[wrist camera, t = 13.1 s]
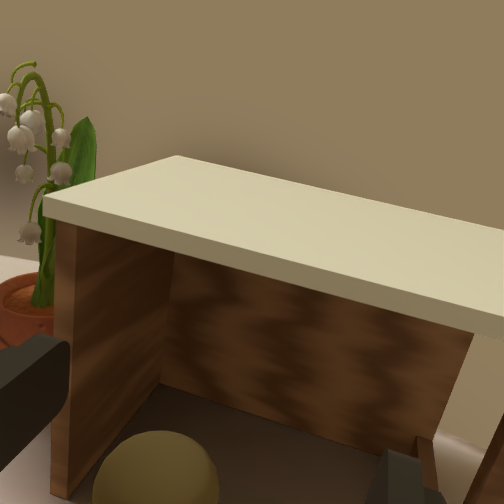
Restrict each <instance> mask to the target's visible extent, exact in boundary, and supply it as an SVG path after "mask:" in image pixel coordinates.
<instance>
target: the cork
mask: <svg viewBox="0 0 504 504" xmlns="http://www.w3.org/2000/svg"><path fill="white" fill-rule="evenodd" d="M219 496H220V487H219V481H218V475H217V470H216V467H215V465H214V463H213V462H212V460H211V458H210V457H209V455H208V454H207V452H206V450H205V449H204V448H203V447H202V446H201V445H199V444H198V443H197V442H196V441H195V440H193V439H191V438H189V437H187V436H185V435H183V434H181V433H176V432H171V431H166V430H164V431H148V432H144V433H140V434H136V435H134V436H132V437H130V438H128V439H127V440H125V441H123V442H121V443H120V444H119V445H118V446H117V447H116V448H115V449H114V450H113V451H112V452H111V453H110V454H109V455H108V456H107V457H106V458H105V459H104V461H103V463H102V465H101V467H100V469H99V471H98V473H97V476H96V478H95V480H94V483H93V492H92V504H218V501H219Z"/></svg>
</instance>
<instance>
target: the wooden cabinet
mask: <svg viewBox="0 0 504 504" xmlns="http://www.w3.org/2000/svg"><path fill="white" fill-rule="evenodd" d="M43 216H45V217H49V218H52V219H56V238H55V286H54V334H53V337H56V338H59V339H62V340H65V341H67V342H68V343H69V344H70V376H69V393H68V397H67V400H66V402H65V404H64V406H63V408H62V409H61V411H60V412H59V413H58V415H57V416H56V417H55V418H54V419H53V420H52V429H51V477H50V494H53V495H55V496H58V497H60V498H63V499H65V500H67V499H68V498H69V496H70V495H71V494H72V493H73V491H74V490H75V489H76V488H77V486H78V485H79V484H80V483H81V481H82V480H83V479H84V477H85V476H86V475H87V474H88V472H89V471H90V470H91V469H92V467H93V466H94V465H95V464H96V462H97V461H98V460H99V459H100V457H101V456H102V455H103V453H104V452H105V451H106V450H107V448H108V447H109V446H110V445H111V443H112V442H113V441H114V440H115V438H116V437H117V436H118V434H119V433H120V432H121V431H122V429H123V428H124V427H125V426H126V424H127V423H128V422H129V421H130V419H131V418H132V417H133V416H134V414H135V413H136V412H137V410H138V409H139V408H140V407H141V405H142V404H143V403H144V402H145V400H146V399H147V398H148V397H149V395H150V394H151V393H152V391H153V390H154V389H155V388H156V386H157V385H158V384H159V383H161V384H164V385H167V386H170V387H173V388H176V389H179V390H182V391H185V392H188V393H191V394H194V395H197V396H200V397H203V398H206V399H209V400H212V401H215V402H218V403H221V404H224V405H227V406H230V407H233V408H236V409H239V410H242V411H245V412H248V413H251V414H254V415H257V416H260V417H263V418H266V419H269V420H272V421H275V422H278V423H281V424H284V425H287V426H290V427H293V428H296V429H299V430H302V431H305V432H308V433H311V434H314V435H318V436H321V437H324V438H327V439H330V440H333V441H336V442H339V443H342V444H345V445H348V446H351V447H354V448H357V449H360V450H363V451H366V452H369V453H372V454H375V455H378V456H381V457H382V454H383V452H384V450H385V449H386V448H388V449H391V450H394V451H397V452H400V453H403V454H406V455H409V456H412V457H415V458H418V459H420V461H421V466H422V477H423V486H424V487H426V488H429V489H432V490H435V491H438V483H437V475H436V467H435V459H434V450H433V442H432V440H433V438H434V435H435V433H436V430H437V427H438V425H439V422H440V420H441V417H442V415H443V412H444V410H445V407H446V405H447V402H448V400H449V397H450V395H451V392H452V389H453V387H454V384H455V382H456V379H457V377H458V374H459V372H460V369H461V367H462V364H463V362H464V359H465V357H466V354H467V352H468V349H469V346H470V344H471V341H472V339H473V336H474V334H479V335H483V336H486V337H490V338H493V339H497V340H501V341H504V230H500V229H496V228H491V227H487V226H483V225H478V224H474V223H470V222H465V221H461V220H457V219H452V218H448V217H444V216H439V215H435V214H430V213H426V212H422V211H417V210H413V209H409V208H404V207H400V206H395V205H391V204H387V203H383V202H378V201H374V200H369V199H365V198H361V197H356V196H352V195H348V194H343V193H339V192H334V191H330V190H325V189H322V188H317V187H313V186H308V185H304V184H300V183H295V182H291V181H287V180H282V179H278V178H274V177H269V176H265V175H261V174H256V173H252V172H247V171H243V170H238V169H234V168H230V167H226V166H221V165H217V164H213V163H208V162H204V161H199V160H195V159H191V158H186V157H182V156H178V155H176V156H172V157H169V158H166V159H162V160H159V161H156V162H152V163H149V164H146V165H142V166H139V167H136V168H133V169H129V170H126V171H123V172H119V173H116V174H113V175H110V176H106V177H103V178H99V179H96V180H93V181H89V182H86V183H83V184H79V185H76V186H73V187H69V188H66V189H63V190H60V191H56V192H53V193H50V194H46V195H43ZM463 504H504V414H503V416H502V418H501V421H500V423H499V425H498V427H497V429H496V432H495V434H494V436H493V438H492V441H491V443H490V445H489V447H488V449H487V451H486V454H485V456H484V458H483V460H482V463H481V465H480V467H479V469H478V471H477V474H476V476H475V478H474V480H473V482H472V485H471V487H470V489H469V491H468V493H467V496H466V498H465V500H464V502H463Z"/></svg>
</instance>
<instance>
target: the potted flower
mask: <svg viewBox="0 0 504 504" xmlns="http://www.w3.org/2000/svg"><path fill="white" fill-rule="evenodd" d="M29 65H32V66H33V67H34V68H35V67H36V65H37V63H36V62H26V63H23V64H21V65H19V66H17V67H16V68H15V69H14V71H13V72H12V76H11V83H13V77H14V74H15V73H16V71H17V70H18V69H19V68H22V67H24V66H29ZM30 80H35V82H36V84H37V86H38V87H36V88H35V90H34V92H33V94H32V98H29V99H28V100H26V103H25V104H23V105H22V106H21V100H22V96H23V92H24V89H25V87H26V85H27V84H28V82H29V81H30ZM14 85H18V86H19V89H18V93H17V99H16V100H15V99H14V98H13V97H12V96H11V95H9V94H8V93H9V91H10V89H11V88H12V87H13V86H14ZM38 91H39V92H40V95H41V99H42V101H41V100H39V99H37V98H35V95H36V93H37V92H38ZM30 100H31V102H28V101H30ZM34 104H39V105H42V107H43V109H44V116H43V115H42V114H41V113H40V112H39V111H36V110H33V105H34ZM29 105H31V110H29V111H26V107H27V106H29ZM20 106H21V107H20ZM52 107H57V108H58V110H59V112H60V113H61V129H57V130H56V131H54V126H53V119H52V112H51V108H52ZM23 108H24V114H23V115H21V116H20V111H21V110H22V109H23ZM15 110H16V115H14V112H15ZM5 113H6V116H7V117H9V118H13V117H15V121H14V122H15V124H16V126H14V127H13V128H12V129H10V130H9V132H8V140H9V142H10V144H11V148H9V149H8V150H10V151H15V150H16V149H17V152H18V154H20V155H24V154H25V156H24V163H23V165H20V166H19V167H17V169H16V172H15V174H16V175H17V179H16V180H15V181H17V182H19V181H20V180H21V183H25V184H26V183H27V182H28V181H29V182H30V183H33V182H34V181H33V175H34V172H33V170H32V168H31V167H30V166H28V165H25V161H26V157H27V153H28V151H31V152H33V151H36V150H37V149H35V147H37V148H39V149H40V150H41V151H43V152H44V153H45V154H46V155H47V183H43V184H41V185H40V186H39V187H38V188H37V190H36V192H35V194H34V197H33V200H32V204H31V209H30V215H29V222H25V223H23V224H22V225H21V226H20V228H19V234H20V237H21V238H20V240H18V241H19V242H24V240H25V243H26V245H32V244H33V243H34V241H35V242H36V243H38V250H39V262H40V266H39V271H38V272H34V273H28V274H23V275H19V276H16V277H13V278H10V279H8V280H6V281H4V282H3V283H1V284H0V350H1V349H4V348H7V347H10V346H12V345H14V346H17V347H18V346H19V345H21V344H22V343H24V342H25V341H26V340H28V339H29V338H31V337H32V336H33V335H35V334H37V333H44V334H47V335H50V336H53V334H54V286H55V238H56V219H52V218H49V217H45V216H43V195H46V194H50V193H53V192H56V191H60V190H63V189H66V188H69V187H73V186H76V185H79V184H83V183H86V182H89V181H93V180H95V168H96V148H97V147H96V135H95V130H94V128H93V125H92V123H91V122H90V120H89V118H88V117H86V118H84V119H82V120H81V121H79V122H78V123H77V124H76V125H75V126H74V127H73V129H72V131H71V133H70V134H69V132H68V131H66V130H64V129H63V123H64V114H63V112H62V109H61V107H60V106H59V105H58V104H57V103H50V102H49V98H48V94H47V90H46V87H45V84H44V81H43V80H42V78H41V76H40V75H38V74H37V73H36V72H30V73H28V74H26V75H24V76H23V78H22V81H21V83H19V82H15V83H13V84H12V85H11V86H10V87H9V89H8V90H7V93H6V94H0V115H1V116H4V115H5ZM44 117H45V118H44ZM45 127H46V131H45ZM38 131H39V133H41V134H46V143H47V148H43V147H42V146H40V145H37V144H34V139H35V138H34V136H37V134H38ZM55 145H56V146H60V147H62V151H61V153H60V155H59V157H58V159H57V161H56V148H55ZM42 188H45V190H44V192H43V195H42V198H41V200H40V203H39V206H38V208H37V223H35V222H30V221H31V215H32V210H33V206H34V202H35V199H36V197H37V195H38V193H39V192H40V190H41V189H42Z"/></svg>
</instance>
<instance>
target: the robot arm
mask: <svg viewBox="0 0 504 504" xmlns="http://www.w3.org/2000/svg"><path fill="white" fill-rule="evenodd" d="M69 376H70V344H69V343H68V342H67V341H65V340H62V339H59V338H56V337H53V336H50V335H47V334H44V333H37V334H35V335H33V336H32V337H31V338H29V339H28V340H26V341H25V342H24V343H22V344H21V345H19V346H18V347H17V346H14V345H12V346H10V347H7V348H4V349H1V350H0V472H1V471H2V470H3V469H4V468H5V467H6V466H7V465H8V464H9V463H10V462H11V461H12V460H13V459H14V458H15V457H16V456H17V455H18V454H19V453H20V452H21V451H22V450H23V449H24V448H25V447H26V446H27V445H28V444H29V443H30V442H31V441H32V440H33V439H34V438H35V437H36V436H37V435H38V434H39V433H40V432H41V431H42V430H43V429H44V428H45V427H46V426H47V425H48V424H49V423H50V422H51V421H52V420H53V419H54V418H55V417H56V416H57V415H58V413H59V412H60V411H61V409H62V408H63V406H64V404H65V402H66V400H67V397H68V393H69ZM365 504H447V503H446V501H445V499H444V498H443V496H442V494H441V492H438V491H435V490H432V489H429V488H426V487H424V486H423V477H422V466H421V461H420V459H418V458H415V457H412V456H409V455H406V454H403V453H400V452H397V451H394V450H391V449H388V448H386V449H385V450H384V452H383V454H382V457H381V459H380V462H379V465H378V468H377V470H376V473H375V476H374V478H373V481H372V484H371V487H370V489H369V492H368V495H367V498H366V501H365Z"/></svg>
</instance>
